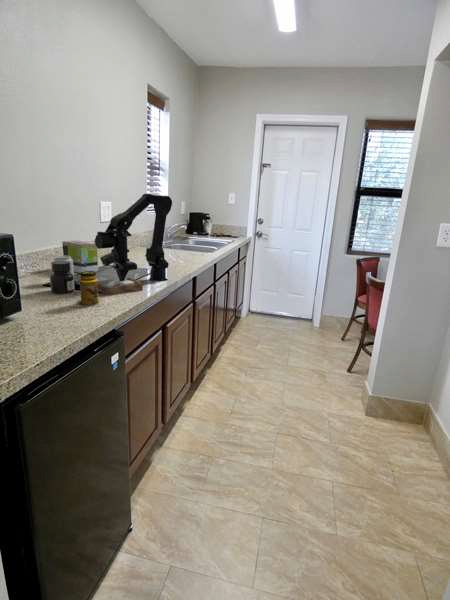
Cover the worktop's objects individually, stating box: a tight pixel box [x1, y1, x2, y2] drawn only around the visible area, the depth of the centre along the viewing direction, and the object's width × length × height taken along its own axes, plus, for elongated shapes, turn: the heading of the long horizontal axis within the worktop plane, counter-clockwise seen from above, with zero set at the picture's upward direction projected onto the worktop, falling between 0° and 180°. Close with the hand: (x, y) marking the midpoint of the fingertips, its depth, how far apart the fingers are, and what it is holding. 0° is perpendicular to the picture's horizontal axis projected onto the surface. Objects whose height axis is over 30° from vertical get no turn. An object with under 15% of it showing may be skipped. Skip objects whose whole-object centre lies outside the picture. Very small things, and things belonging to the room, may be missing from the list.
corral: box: [98, 277, 143, 296], centre depth 149 cm, size 16×12×3 cm
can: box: [53, 254, 75, 276], centre depth 153 cm, size 8×8×12 cm
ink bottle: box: [49, 260, 76, 295], centre depth 141 cm, size 10×9×12 cm
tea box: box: [62, 240, 99, 274], centre depth 178 cm, size 15×10×15 cm
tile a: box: [118, 279, 135, 286], centre depth 152 cm, size 5×5×3 cm
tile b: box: [96, 277, 110, 285], centre depth 154 cm, size 5×5×3 cm
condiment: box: [73, 271, 101, 308], centre depth 127 cm, size 7×8×12 cm
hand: (121, 282), depth 154 cm, fingers closed
